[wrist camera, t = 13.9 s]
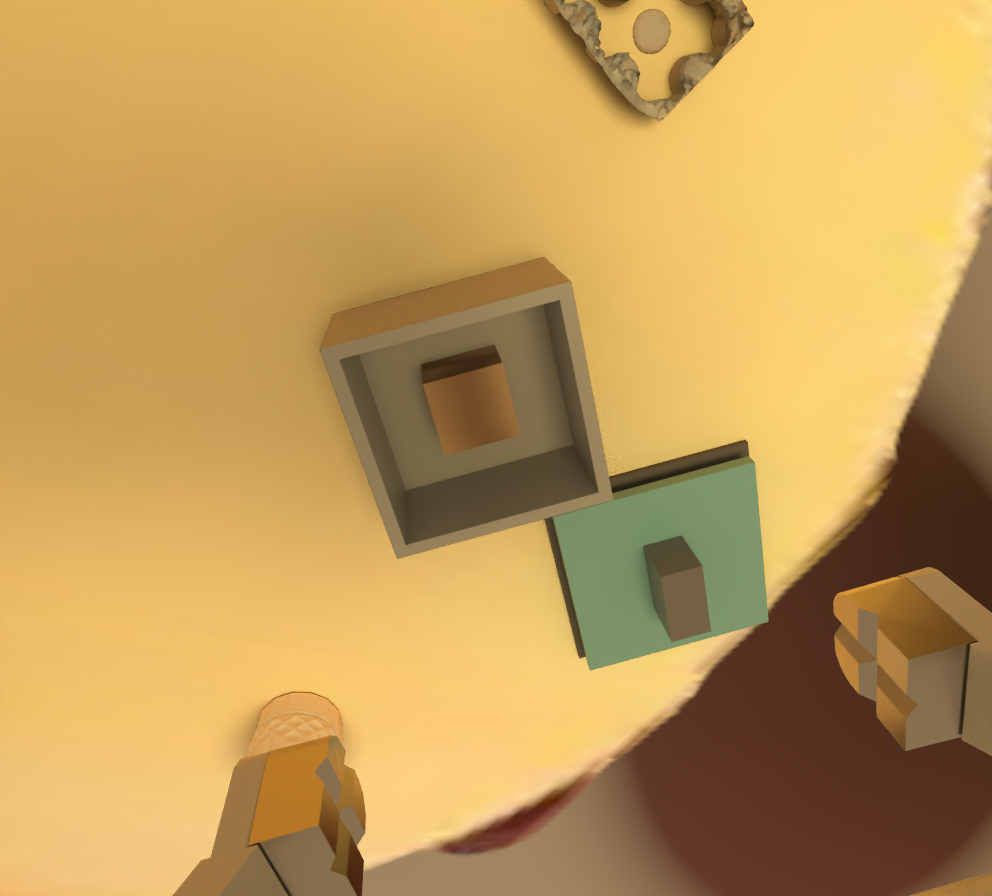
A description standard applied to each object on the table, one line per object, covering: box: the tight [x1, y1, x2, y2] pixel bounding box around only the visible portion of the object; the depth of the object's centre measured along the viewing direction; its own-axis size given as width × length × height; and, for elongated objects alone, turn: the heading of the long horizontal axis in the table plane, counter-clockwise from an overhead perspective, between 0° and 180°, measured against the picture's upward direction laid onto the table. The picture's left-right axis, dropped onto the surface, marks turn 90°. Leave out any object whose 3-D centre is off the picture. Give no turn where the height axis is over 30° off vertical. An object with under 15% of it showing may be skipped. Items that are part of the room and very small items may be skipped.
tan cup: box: [245, 693, 342, 758], centre depth 54 cm, size 8×8×10 cm
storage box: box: [320, 257, 613, 559], centre depth 44 cm, size 14×14×8 cm
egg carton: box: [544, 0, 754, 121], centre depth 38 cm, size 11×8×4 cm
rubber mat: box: [545, 440, 749, 658], centre depth 55 cm, size 16×16×1 cm
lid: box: [552, 456, 768, 670], centre depth 52 cm, size 15×15×6 cm
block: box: [421, 344, 520, 456], centre depth 45 cm, size 5×5×4 cm
